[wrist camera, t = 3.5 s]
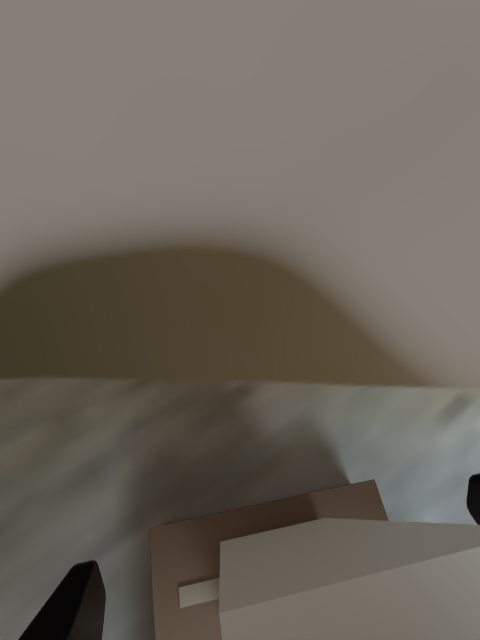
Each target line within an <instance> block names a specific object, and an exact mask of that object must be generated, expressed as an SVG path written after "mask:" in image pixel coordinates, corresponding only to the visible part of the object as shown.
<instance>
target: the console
mask: <svg viewBox="0 0 480 640" xmlns="http://www.w3.org/2000/svg"><path fill="white" fill-rule="evenodd" d="M322 518H337V519H359V520H381V521H388V518H387V515H386V512H385V509H384V506H383V503H382V500H381V498H380V495H379V492H378V489H377V486H376V483H375V480H374V479H373V480H369V481H364V482H359V483H355V484H350V485H345V486H341V487H336V488H332V489H327V490H322V491H318V492H313V493H309V494H304V495H299V496H295V497H290V498H285V499H281V500H276V501H272V502H267V503H262V504H258V505H253V506H249V507H244V508H239V509H235V510H230V511H226V512H221V513H216V514H212V515H207V516H202V517H198V518H193V519H189V520H184V521H179V522H175V523H170V524H166V525H161V526H156V527H152V528H149V535H150V554H151V572H152V591H153V609H154V627H155V640H222V634H221V626H220V618H219V583H220V542H222V541H226V540H230V539H235V538H239V537H244V536H248V535H252V534H257V533H261V532H265V531H270V530H274V529H279V528H283V527H287V526H292V525H296V524H301V523H305V522H309V521H314V520H318V519H322Z"/></svg>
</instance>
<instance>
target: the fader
mask: <svg viewBox="0 0 480 640" xmlns="http://www.w3.org/2000/svg"><path fill="white" fill-rule="evenodd" d="M219 618H220V626H221V634H222V640H480V525H470V524H448V523H425V522H403V521H381V520H359V519H337V518H322V519H318V520H314V521H309V522H305V523H301V524H296V525H292V526H287V527H283V528H279V529H274V530H270V531H265V532H261V533H257V534H252V535H248V536H244V537H239V538H235V539H230V540H226V541H222V542H220V583H219Z"/></svg>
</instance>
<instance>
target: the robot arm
mask: <svg viewBox="0 0 480 640" xmlns="http://www.w3.org/2000/svg"><path fill="white" fill-rule="evenodd" d="M467 507H468V510H469V512H470V514H471V516H472V517H473V519H474V520H475V521H476V523H477V524H478V525H480V473H479V474H475V475H472V476H471V477H470V478H469V484H468V493H467ZM105 601H106V595H105V587H104V584H103V580H102V577H101V573H100V570H99V566H98V564H97V562H96V561H95V560H91V561H87V562H82V563H78V564H76V565H74V566H73V567H72V568H71V569H70V571H69V572H68V573H67V575H66V576H65V577H64V579H63V580H62V581H61V583H60V584H59V585H58V587H57V588H56V589H55V591H54V592H53V594H52V595H51V596H50V598H49V599H48V600H47V602H46V603H45V604H44V606H43V607H42V608H41V610H40V611H39V612H38V614H37V615H36V616H35V618H34V619H33V620H32V622H31V623H30V625H29V626H28V627H27V629H26V630H25V631H24V633H23V634H22V635H21V637H20V638H19V639H18V640H102V632H103V622H104V612H105Z"/></svg>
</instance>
